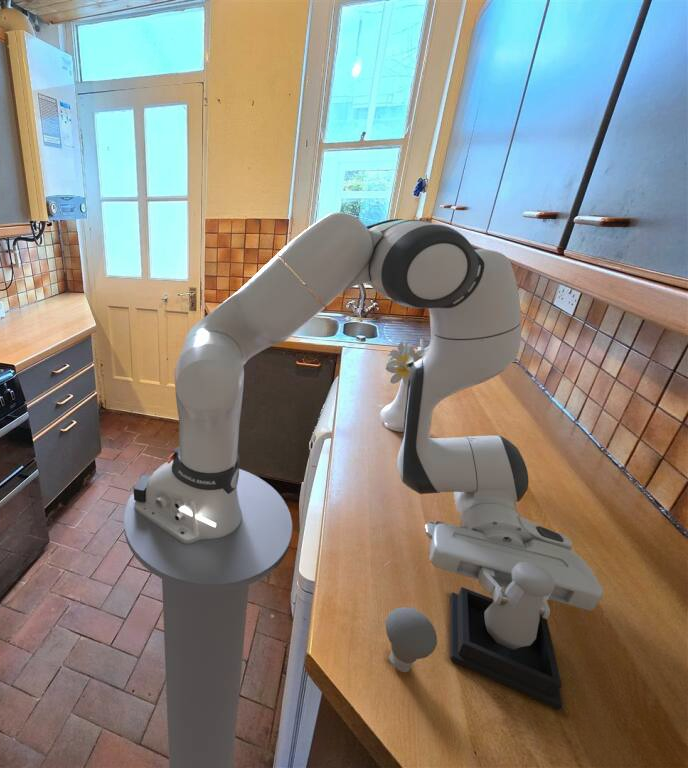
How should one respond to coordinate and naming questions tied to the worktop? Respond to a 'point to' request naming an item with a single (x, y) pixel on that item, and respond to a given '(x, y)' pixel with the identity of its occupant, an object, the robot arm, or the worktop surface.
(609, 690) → the worktop surface
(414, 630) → the light bulb
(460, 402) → the worktop surface
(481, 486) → the robot arm
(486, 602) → the pad
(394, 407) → the flower vase
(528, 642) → the salt shaker
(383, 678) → the worktop surface
